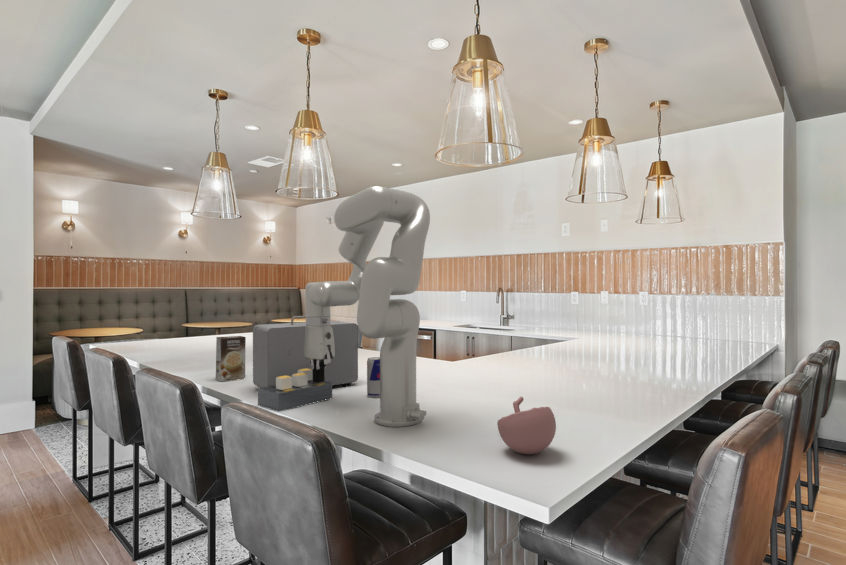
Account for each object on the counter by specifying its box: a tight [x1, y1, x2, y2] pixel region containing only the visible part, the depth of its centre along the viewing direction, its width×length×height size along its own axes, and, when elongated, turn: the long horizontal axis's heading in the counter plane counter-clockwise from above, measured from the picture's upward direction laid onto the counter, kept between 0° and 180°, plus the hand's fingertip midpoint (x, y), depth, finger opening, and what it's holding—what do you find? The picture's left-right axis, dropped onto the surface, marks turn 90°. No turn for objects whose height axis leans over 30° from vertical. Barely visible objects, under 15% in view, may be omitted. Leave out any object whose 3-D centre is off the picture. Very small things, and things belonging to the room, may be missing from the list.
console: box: [257, 379, 333, 412], centre depth 142 cm, size 11×19×5 cm, turn 140°
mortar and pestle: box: [496, 396, 557, 455], centre depth 98 cm, size 12×12×12 cm
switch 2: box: [298, 368, 312, 381], centre depth 148 cm, size 3×3×3 cm
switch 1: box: [276, 375, 292, 390], centre depth 137 cm, size 3×3×3 cm
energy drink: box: [366, 356, 380, 399], centre depth 149 cm, size 5×5×12 cm
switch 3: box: [292, 373, 308, 387], centre depth 141 cm, size 3×3×3 cm
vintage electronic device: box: [252, 315, 359, 388], centre depth 163 cm, size 32×18×25 cm, turn 126°
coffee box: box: [215, 335, 246, 383], centre depth 177 cm, size 9×6×16 cm
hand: (318, 381), depth 144 cm, fingers closed
